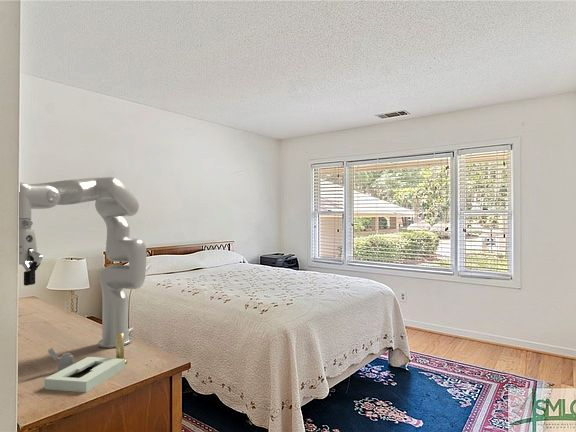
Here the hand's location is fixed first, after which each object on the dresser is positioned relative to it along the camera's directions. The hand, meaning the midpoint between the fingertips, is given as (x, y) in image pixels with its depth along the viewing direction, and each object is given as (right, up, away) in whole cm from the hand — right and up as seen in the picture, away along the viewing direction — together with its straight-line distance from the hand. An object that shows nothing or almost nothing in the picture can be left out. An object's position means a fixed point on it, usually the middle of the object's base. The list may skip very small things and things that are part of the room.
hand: (15, 284), depth 105 cm
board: (+15, -31, +10) cm, 36 cm away
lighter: (+3, -32, +16) cm, 36 cm away
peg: (+21, -32, +21) cm, 43 cm away
